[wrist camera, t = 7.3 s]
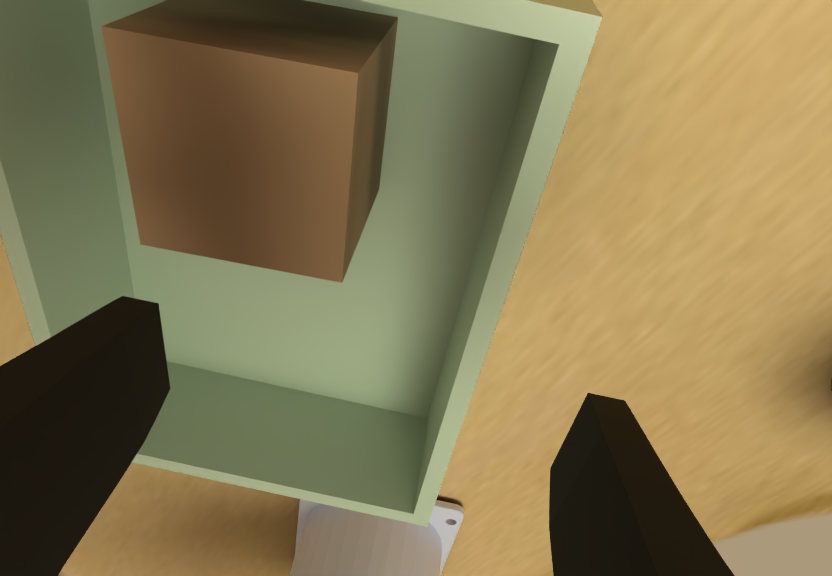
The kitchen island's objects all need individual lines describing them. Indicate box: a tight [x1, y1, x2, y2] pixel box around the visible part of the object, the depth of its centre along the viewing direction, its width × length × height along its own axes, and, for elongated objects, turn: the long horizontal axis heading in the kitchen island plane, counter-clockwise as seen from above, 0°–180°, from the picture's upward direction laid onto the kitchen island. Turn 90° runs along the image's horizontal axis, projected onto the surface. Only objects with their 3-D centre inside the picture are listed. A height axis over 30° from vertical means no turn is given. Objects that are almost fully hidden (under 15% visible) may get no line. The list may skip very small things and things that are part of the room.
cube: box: [101, 0, 398, 283], centre depth 14 cm, size 5×5×5 cm
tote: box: [0, 0, 602, 527], centre depth 18 cm, size 17×13×5 cm
